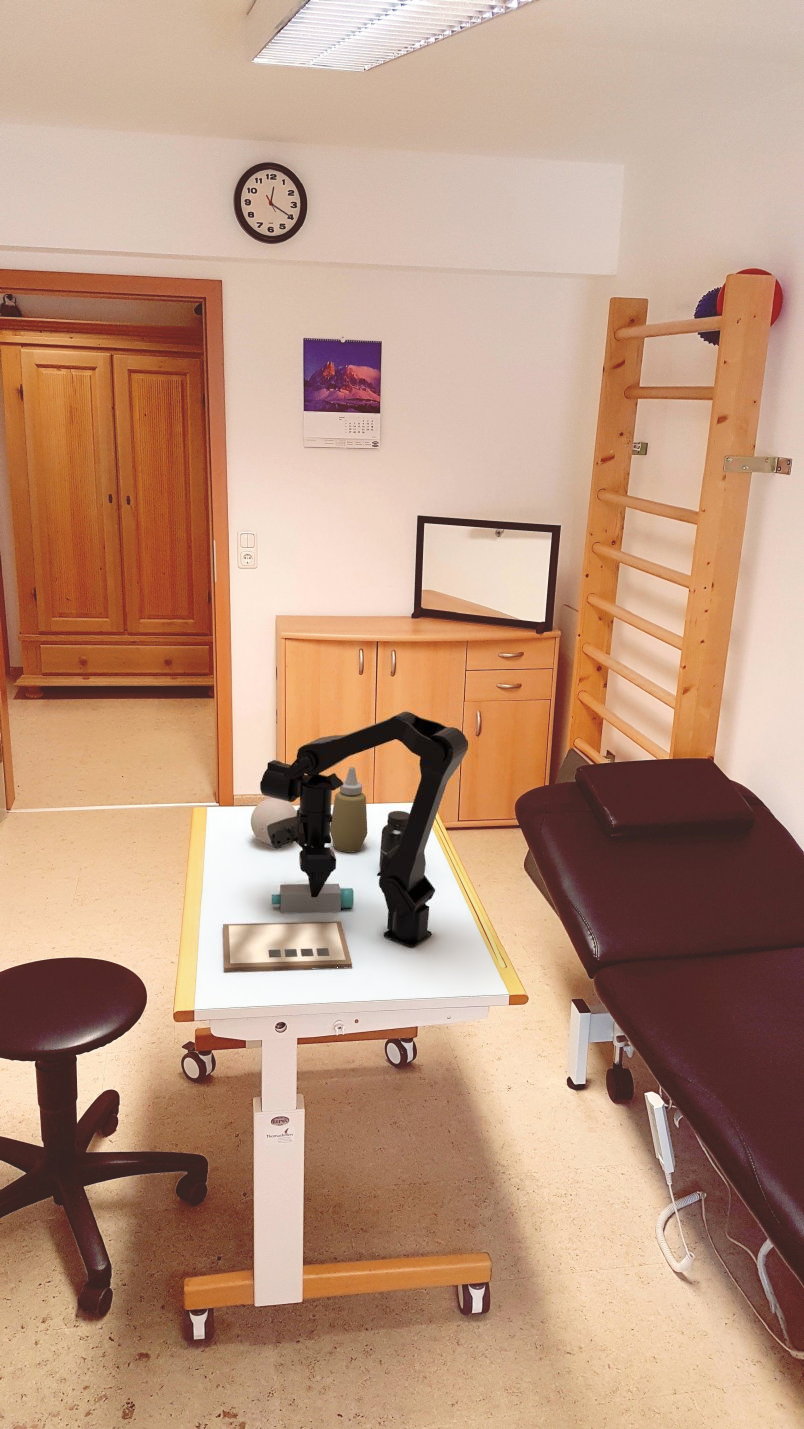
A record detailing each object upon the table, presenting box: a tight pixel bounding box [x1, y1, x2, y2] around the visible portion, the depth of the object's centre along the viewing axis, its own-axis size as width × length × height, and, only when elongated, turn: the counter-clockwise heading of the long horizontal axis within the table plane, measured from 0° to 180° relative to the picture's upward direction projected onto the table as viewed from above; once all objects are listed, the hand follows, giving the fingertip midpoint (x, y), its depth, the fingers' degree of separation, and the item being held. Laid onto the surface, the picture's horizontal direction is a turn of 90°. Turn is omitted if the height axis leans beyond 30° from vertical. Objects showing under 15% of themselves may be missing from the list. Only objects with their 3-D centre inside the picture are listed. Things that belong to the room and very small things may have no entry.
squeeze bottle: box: [330, 766, 368, 853], centre depth 215 cm, size 8×8×18 cm
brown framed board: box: [222, 920, 353, 973], centre depth 174 cm, size 21×15×1 cm
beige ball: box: [250, 797, 297, 846], centre depth 216 cm, size 10×10×10 cm
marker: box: [270, 883, 354, 914], centre depth 189 cm, size 15×4×4 cm, turn 100°
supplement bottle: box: [378, 810, 410, 870], centre depth 207 cm, size 7×7×12 cm
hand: (311, 885), depth 188 cm, fingers open, 9 cm apart
